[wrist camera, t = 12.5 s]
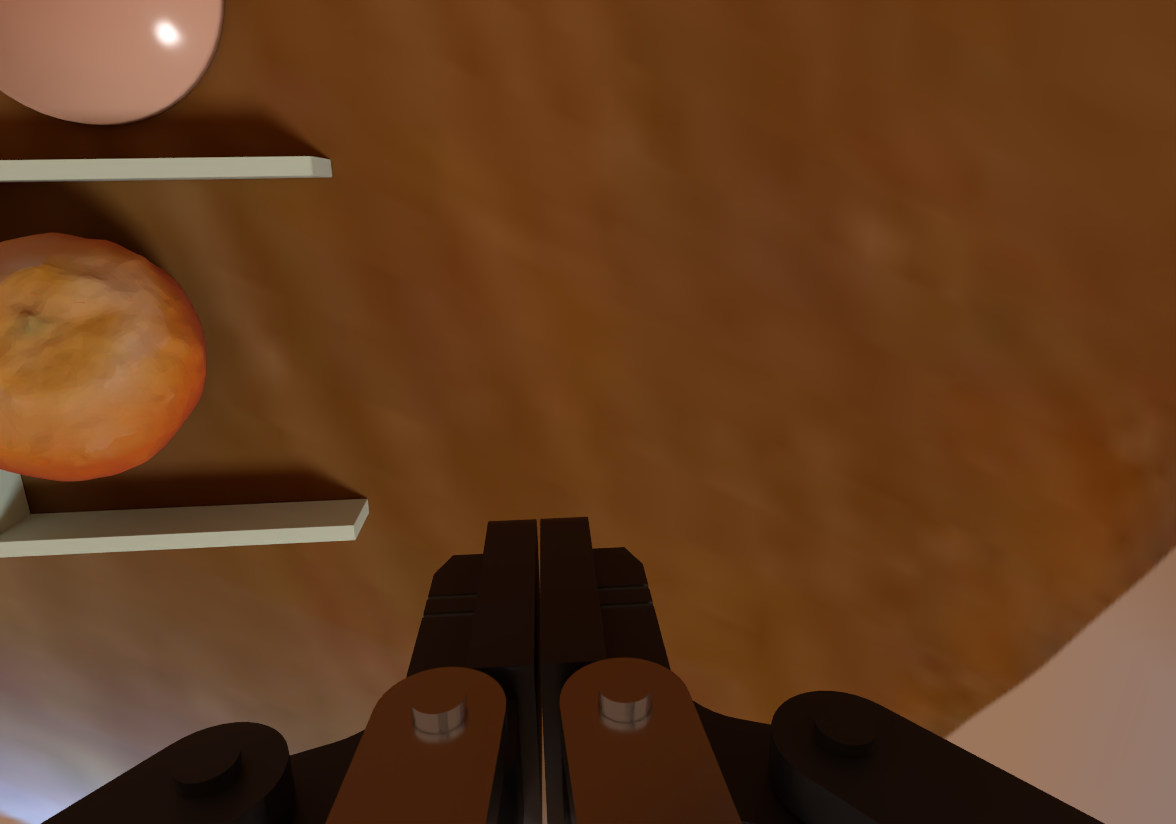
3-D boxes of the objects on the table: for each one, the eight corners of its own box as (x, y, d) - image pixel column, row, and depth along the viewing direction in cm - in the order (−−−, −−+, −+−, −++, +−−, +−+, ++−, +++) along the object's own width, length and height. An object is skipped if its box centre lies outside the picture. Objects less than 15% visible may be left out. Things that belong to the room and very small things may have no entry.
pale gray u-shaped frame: (-77, 165, 25) (-140, 162, 23) (330, 159, 26) (310, 156, 24) (18, 528, 29) (-28, 558, 27) (369, 512, 30) (355, 539, 28)
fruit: (-42, 457, 27) (-210, 406, 19) (63, 269, 29) (-50, 158, 22) (185, 525, 28) (112, 503, 21) (269, 341, 30) (230, 260, 23)
